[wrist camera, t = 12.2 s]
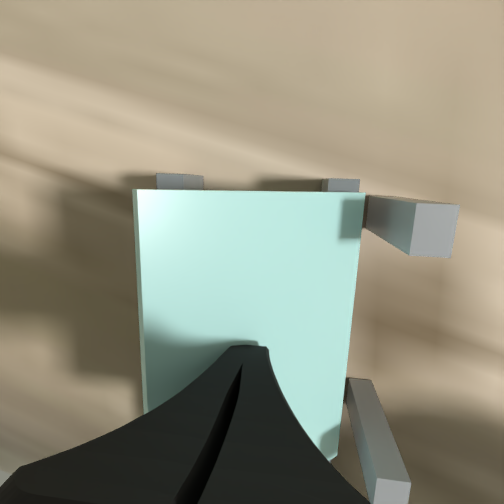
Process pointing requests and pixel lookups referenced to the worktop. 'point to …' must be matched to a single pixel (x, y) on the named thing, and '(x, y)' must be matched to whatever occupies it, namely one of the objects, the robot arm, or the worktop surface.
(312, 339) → the cover
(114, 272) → the worktop surface
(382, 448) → the grey frame
